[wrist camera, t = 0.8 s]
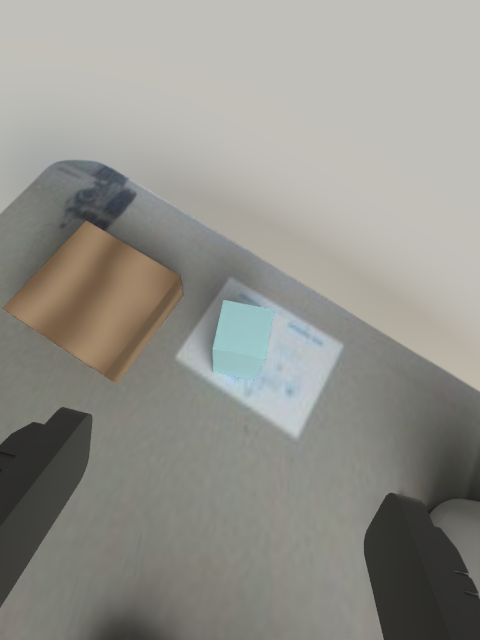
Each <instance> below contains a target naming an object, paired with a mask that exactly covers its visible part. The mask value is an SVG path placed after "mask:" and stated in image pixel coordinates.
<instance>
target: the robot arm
mask: <svg viewBox="0 0 480 640" xmlns="http://www.w3.org/2000/svg"><path fill="white" fill-rule="evenodd" d="M91 429H92V415H91V414H88V413H84V412H80V411H76V410H72V409H68V408H64V407H62V408H60V409H59V410H58V411H57V412H56V413H55V414H54V415H53V416H52V417H51V418H50V419H49V420H48V421H47V422H46V424H45V425H44V424H40V423H36V422H33V423H31V424H29V425H27V426H25V427H23V428H21V429H19V430H18V431H16V432H14V433H12V434H11V435H10V436H9V437H8V438H7V439H6V440H5V441H4V442H3V443H2V444H1V445H0V607H1V606H2V604H3V602H4V601H5V599H6V598H7V596H8V594H9V593H10V591H11V590H12V588H13V587H14V585H15V583H16V582H17V580H18V579H19V577H20V575H21V574H22V572H23V571H24V569H25V568H26V566H27V564H28V563H29V561H30V560H31V558H32V557H33V555H34V553H35V552H36V550H37V549H38V547H39V545H40V544H41V542H42V541H43V539H44V538H45V536H46V534H47V533H48V531H49V530H50V528H51V526H52V525H53V523H54V522H55V520H56V519H57V517H58V515H59V514H60V512H61V511H62V509H63V507H64V506H65V504H66V503H67V501H68V500H69V498H70V496H71V495H72V493H73V492H74V490H75V489H76V487H77V485H78V484H79V482H80V480H81V478H82V476H83V474H84V472H85V469H86V466H87V463H88V459H89V450H90V440H91ZM364 555H365V560H366V564H367V569H368V573H369V577H370V582H371V586H372V590H373V594H374V599H375V603H376V607H377V612H378V616H379V620H380V625H381V629H382V633H383V637H384V640H480V502H478V501H473V500H466V499H451V500H448V501H445V502H443V503H441V504H439V505H438V506H437V507H435V508H434V509H433V510H432V512H431V513H430V514H429V513H428V511H427V509H426V507H425V505H424V504H423V502H422V501H420V500H417V499H413V498H410V497H406V496H402V495H398V494H394V493H389V494H388V495H387V496H386V497H385V499H384V501H383V502H382V504H381V506H380V508H379V509H378V511H377V513H376V515H375V516H374V518H373V520H372V522H371V524H370V525H369V527H368V529H367V531H366V534H365V539H364Z"/></svg>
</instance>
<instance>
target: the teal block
mask: <svg viewBox="0 0 480 640" xmlns="http://www.w3.org/2000/svg"><path fill="white" fill-rule="evenodd" d="M273 314H274V310H272V309H267V308H262V307H257V306H252V305H247V304H242V303H237V302H232V301H227V300H223V304H222V308H221V313H220V317H219V322H218V326H217V331H216V335H215V340H214V344H213V372H214V373H219V374H224V375H229V376H234V377H239V378H244V379H249V380H254V381H255V379H256V377H257V375H258V373H259V372H260V370H261V368H262V366H263V364H264V362H265V360H266V357H267V351H268V345H269V339H270V332H271V326H272V320H273Z"/></svg>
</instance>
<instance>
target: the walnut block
mask: <svg viewBox="0 0 480 640" xmlns="http://www.w3.org/2000/svg"><path fill="white" fill-rule="evenodd" d="M183 295H184V294H183V289H182V284H181V279H180V276H179V275H178V274H176V273H174V272H173V271H171V270H169V269H167V268H166V267H164V266H162V265H161V264H159V263H157V262H156V261H154V260H152V259H151V258H149V257H147V256H145V255H144V254H142V253H140V252H139V251H137V250H135V249H134V248H132V247H130V246H128V245H127V244H125V243H123V242H122V241H120V240H118V239H117V238H115V237H113V236H112V235H110V234H108V233H106V232H105V231H103V230H101V229H100V228H98V227H96V226H95V225H93V224H91V223H89V222H88V221H85V222H84V223H83V224H82V225H81V226H80V228H79V229H78V230H77V231H76V232H75V233H74V234H73V235H72V236H71V237H70V238H69V239H68V240H67V241H66V242H65V243H64V244H63V245H62V246H61V247H60V249H59V250H58V251H57V252H56V253H55V254H54V255H53V256H52V257H51V258H50V259H49V260H48V261H47V262H46V263H45V264H44V265H43V266H42V267H41V268H40V270H39V271H38V272H37V273H36V274H35V275H34V276H33V277H32V278H31V279H30V280H29V281H28V282H27V283H26V284H25V285H24V286H23V287H22V288H21V289H20V291H19V292H18V293H17V294H16V295H15V296H14V297H13V298H12V299H11V300H10V301H9V302H8V303H7V304H6V305H5V306H4V307H3V309H4V310H6V311H7V312H9V313H10V314H12V315H13V316H15V317H16V318H18V319H19V320H20V321H22V322H23V323H25V324H26V325H28V326H29V327H31V328H32V329H34V330H35V331H37V332H38V333H40V334H41V335H43V336H44V337H46V338H47V339H49V340H51V341H52V342H54V343H55V344H57V345H58V346H60V347H61V348H63V349H64V350H66V351H67V352H69V353H70V354H72V355H73V356H75V357H76V358H78V359H79V360H81V361H83V362H84V363H86V364H87V365H89V366H90V367H92V368H93V369H95V370H96V371H98V372H99V373H101V374H102V375H104V376H105V377H107V378H108V379H110V380H111V381H113V382H114V383H116V384H118V382H119V381H120V380H121V378H122V377H123V376H124V374H125V373H126V372H127V370H128V369H129V367H130V366H131V365H132V363H133V362H134V361H135V359H136V358H137V357H138V355H139V354H140V353H141V351H142V350H143V349H144V347H145V346H146V345H147V343H148V342H149V341H150V339H151V338H152V337H153V335H154V334H155V333H156V331H157V330H158V329H159V327H160V326H161V325H162V323H163V322H164V321H165V319H166V318H167V317H168V315H169V314H170V313H171V311H172V310H173V309H174V307H175V306H176V305H177V303H178V302H179V301H180V299H181V298H182V297H183Z"/></svg>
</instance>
